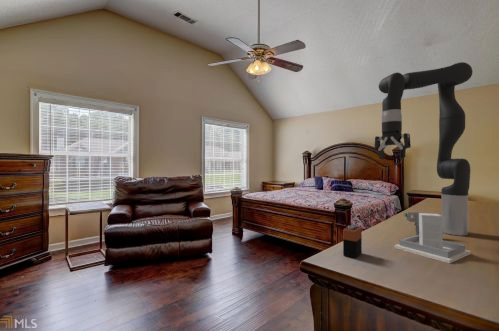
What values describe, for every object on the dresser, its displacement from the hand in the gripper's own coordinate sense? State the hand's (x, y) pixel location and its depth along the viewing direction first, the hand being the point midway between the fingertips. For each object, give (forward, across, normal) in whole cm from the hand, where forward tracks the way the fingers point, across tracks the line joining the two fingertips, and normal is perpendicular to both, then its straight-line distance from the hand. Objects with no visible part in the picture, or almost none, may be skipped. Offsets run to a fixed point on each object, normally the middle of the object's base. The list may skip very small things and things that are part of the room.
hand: (391, 159), depth 108 cm
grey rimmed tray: (+33, -18, +7) cm, 38 cm away
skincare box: (+32, -18, +7) cm, 38 cm away
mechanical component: (+33, -6, -9) cm, 35 cm away
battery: (+33, -6, +34) cm, 48 cm away
